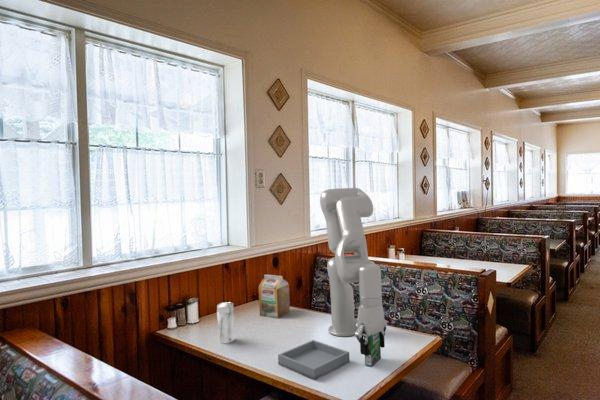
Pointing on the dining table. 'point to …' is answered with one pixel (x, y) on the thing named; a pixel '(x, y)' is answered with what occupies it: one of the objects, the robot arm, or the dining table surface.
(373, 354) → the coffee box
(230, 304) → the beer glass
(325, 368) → the grey tray
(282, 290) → the milk carton
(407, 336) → the dining table surface
